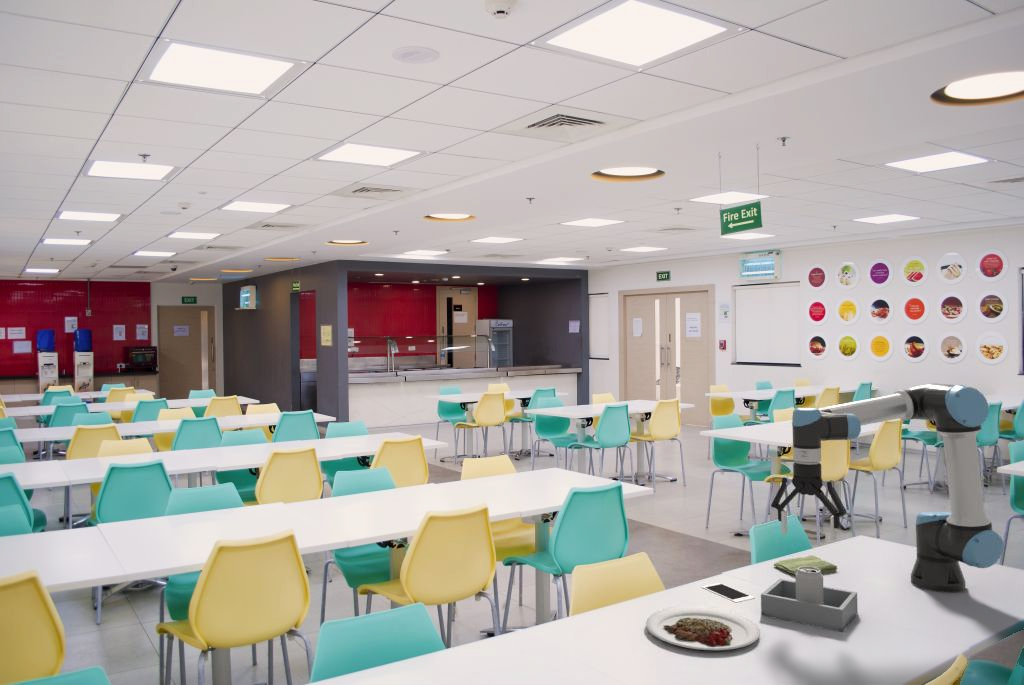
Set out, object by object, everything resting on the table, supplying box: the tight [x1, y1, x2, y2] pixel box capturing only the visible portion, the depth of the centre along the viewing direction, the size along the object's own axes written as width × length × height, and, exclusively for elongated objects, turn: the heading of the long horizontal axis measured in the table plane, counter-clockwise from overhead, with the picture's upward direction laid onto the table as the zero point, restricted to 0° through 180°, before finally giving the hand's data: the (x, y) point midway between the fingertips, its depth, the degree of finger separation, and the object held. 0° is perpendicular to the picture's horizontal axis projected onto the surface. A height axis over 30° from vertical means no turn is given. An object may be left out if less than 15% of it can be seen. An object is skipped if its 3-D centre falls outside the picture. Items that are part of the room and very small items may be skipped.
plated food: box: [645, 605, 761, 651], centre depth 203 cm, size 30×30×3 cm
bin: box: [760, 578, 858, 633], centre depth 215 cm, size 22×17×6 cm
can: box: [794, 566, 824, 605], centre depth 215 cm, size 8×8×12 cm
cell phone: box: [701, 582, 756, 603], centre depth 234 cm, size 8×16×1 cm, turn 26°
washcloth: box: [773, 555, 838, 576], centre depth 256 cm, size 13×18×3 cm
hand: (808, 536), depth 215 cm, fingers open, 13 cm apart
